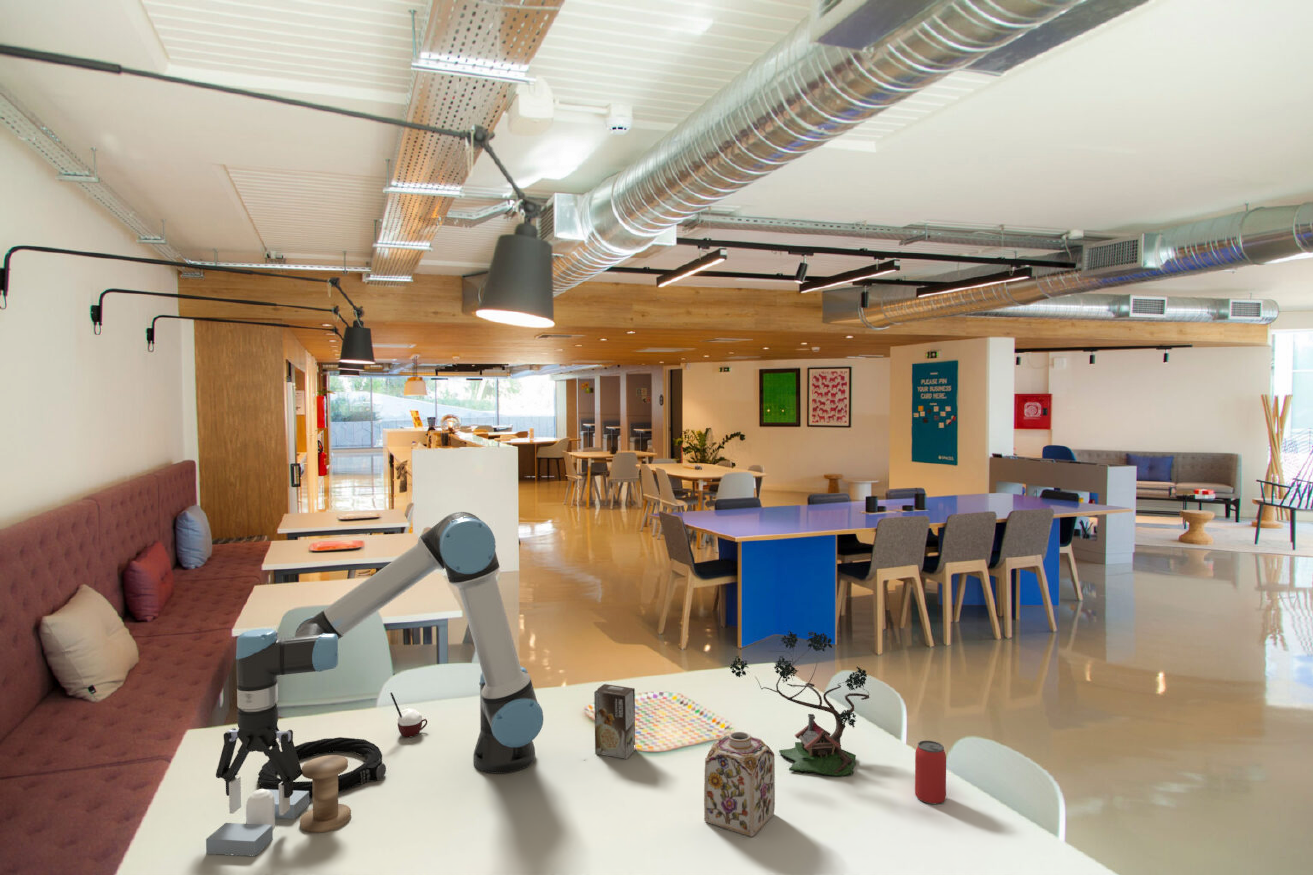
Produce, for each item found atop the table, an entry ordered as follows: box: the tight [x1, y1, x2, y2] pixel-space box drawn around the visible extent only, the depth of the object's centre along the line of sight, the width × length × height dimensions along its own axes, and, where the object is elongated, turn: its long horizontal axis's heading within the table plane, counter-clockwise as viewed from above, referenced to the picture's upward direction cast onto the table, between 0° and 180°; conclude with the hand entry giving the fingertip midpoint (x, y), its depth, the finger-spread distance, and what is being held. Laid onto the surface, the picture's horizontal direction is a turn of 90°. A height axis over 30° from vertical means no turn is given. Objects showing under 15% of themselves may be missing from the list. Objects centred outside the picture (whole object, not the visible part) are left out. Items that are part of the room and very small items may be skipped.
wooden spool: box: [299, 754, 352, 834], centre depth 163 cm, size 10×10×12 cm
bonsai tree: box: [729, 630, 870, 777], centre depth 193 cm, size 35×24×32 cm
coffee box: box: [593, 683, 636, 759], centre depth 196 cm, size 9×6×16 cm
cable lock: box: [257, 736, 387, 798], centre depth 185 cm, size 28×4×30 cm
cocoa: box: [390, 692, 428, 738], centre depth 207 cm, size 10×6×12 cm, turn 97°
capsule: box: [245, 788, 276, 829], centre depth 160 cm, size 5×5×8 cm
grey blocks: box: [205, 789, 310, 857], centre depth 160 cm, size 10×20×3 cm, turn 175°
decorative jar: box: [703, 731, 776, 838], centre depth 164 cm, size 12×12×18 cm
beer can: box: [914, 740, 947, 805], centre depth 172 cm, size 7×7×12 cm
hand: (260, 811), depth 160 cm, fingers open, 10 cm apart
